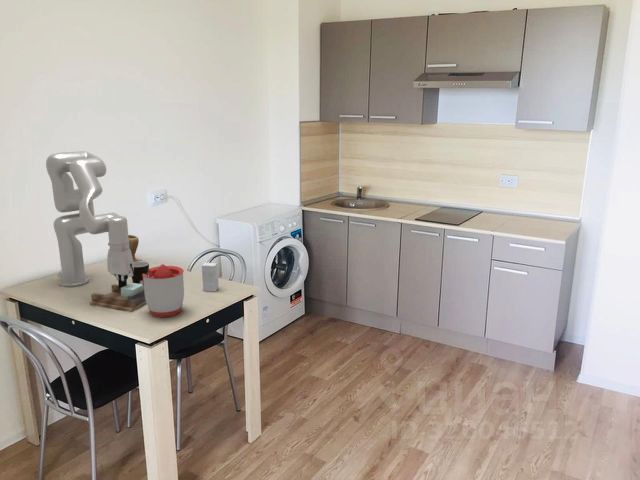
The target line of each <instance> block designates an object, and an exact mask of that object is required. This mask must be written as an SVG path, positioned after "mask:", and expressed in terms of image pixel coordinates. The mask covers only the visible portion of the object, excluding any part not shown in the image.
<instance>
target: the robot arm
mask: <svg viewBox="0 0 640 480" xmlns="http://www.w3.org/2000/svg"><path fill="white" fill-rule="evenodd" d="M45 160H46V161H45V167H46V172H47V174H48V177H49V179H50V183H51V187H52V195H53V203H54V208H55V210H56V211H58V212H59V213H70V212H71V214H64V215H61V216H58V217H57V218H55V219H54V221H53V229H54V232H55V233H54V234H55V236H56V240H57V245H58V251H59V260H60V261H59V262H60V268H61V271H58V273H57V274H56V277H58V278H60V280H59V281H58V284H59V286H61V287H65V288H66V287H67V288H70V287H71V288H72V287H73V288H74V287H79V286H83V285H85V284H86V285H87V284H88V283H89V282H90V278H89V276H86V273H85V263H84V254H83V253H84V252H83V245H82V243H81V241H80V240H79V239H78V238H77V236H78V235H82V234H86V233H87V234H88V233H89V234H90V235H99V234H104V233H108V244H107V245H108V246H109V249H108V250H107V255H106V256H107V258H106V261H107V263H106V264H107V271H108V273H109V274H111V275H112V276H114V277H115V278H116V280H117V283H118V284H117V285H119V290H121V288H122V287H124V286H126V285H128V282H127V280H128V279H129V278H132V276H133V272H134V263H133V257H132V253H131V250H130V249H129V237H128V235H129V228H128V227H129V226H128V219H127V217H125V216H123V215H119V214H117V213H115V212H106V213H102V214H96V215H95V206H94V202H93V201H94V200H95V199H96V198H99V196H100V195H102V193H103V187H102V185H101V183H100V181H99V179H98V178H101V177H104V176H106V174H107V166H106V164H105V162H104V160H102V159H101V158H100V157H98V156H96V155H95V154H93V153H90V152H88V151H82V150H81V151H79V150H78V151H67V152H57V153H52V154H50V155H49V156H48V157H47V158H46V159H45ZM69 173H70V174H69ZM72 178H73V179H72ZM73 180H74V181H73ZM74 183H75V184H76V185H75V186H76V187H77V188H74V187H75V186H74ZM77 211H78V212H77ZM72 212H77V213H72Z"/></svg>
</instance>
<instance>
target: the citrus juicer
mask: <svg viewBox="0 0 640 480" xmlns="http://www.w3.org/2000/svg"><path fill="white" fill-rule="evenodd" d="M148 272H149V276H147V275H146V274H142V277H143V281H141V282H140V284H143V286H144V293H145V299H146V303H147V304H146V306H147V309H148V311H149V313H150V314H151V316H155V317H163V318H164V317H173V316H174V315H177V314H179V313H180V312H181V310H182V308H183V305H184V304H183V303H184V298H185V286H184V285H185V284H184V269H183V268H182V267H179V266H176V265H175V266H174V265H165V264H161V265H158V266H154V267H149V269H148Z"/></svg>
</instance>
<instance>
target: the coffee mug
mask: <svg viewBox="0 0 640 480" xmlns="http://www.w3.org/2000/svg"><path fill="white" fill-rule="evenodd" d="M138 261H139V260H138ZM133 263H134V272H133V276H132V277H131V280H132V283H137V284H140V282H141V281H143V277H142V274H146V275H147V276H148V277H149V272H148V269H150V262H148V261H143V260H142V261H141V260H140V261H139V262H133Z"/></svg>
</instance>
